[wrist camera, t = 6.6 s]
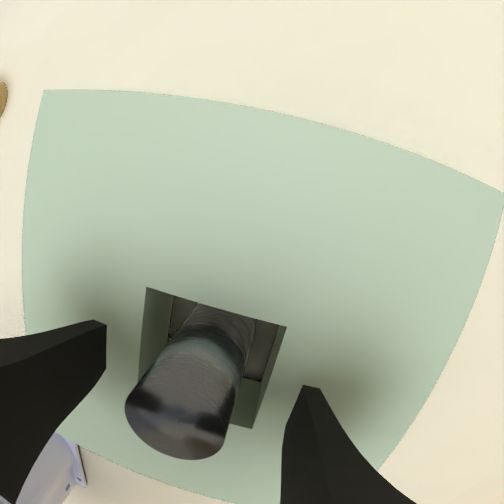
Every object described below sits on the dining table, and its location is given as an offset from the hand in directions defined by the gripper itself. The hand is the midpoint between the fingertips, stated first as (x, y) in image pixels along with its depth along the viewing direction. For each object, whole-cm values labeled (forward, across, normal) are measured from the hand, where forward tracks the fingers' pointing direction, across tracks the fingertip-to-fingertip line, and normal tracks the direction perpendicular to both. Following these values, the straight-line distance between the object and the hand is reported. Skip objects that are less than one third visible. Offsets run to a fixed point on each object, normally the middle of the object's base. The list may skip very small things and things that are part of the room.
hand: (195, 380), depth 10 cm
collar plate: (+4, 0, 0) cm, 4 cm away
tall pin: (+4, 0, 0) cm, 4 cm away
